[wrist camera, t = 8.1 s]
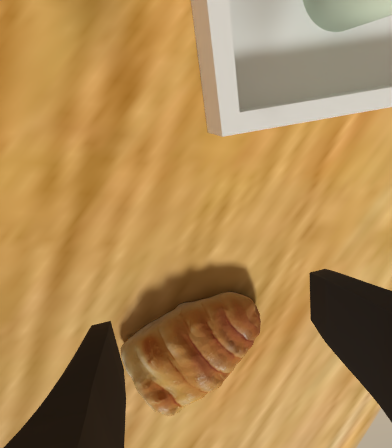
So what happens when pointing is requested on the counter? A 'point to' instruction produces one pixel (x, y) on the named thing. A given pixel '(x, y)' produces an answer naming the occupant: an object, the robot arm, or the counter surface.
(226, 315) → the pastry
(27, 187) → the counter surface
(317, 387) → the counter surface
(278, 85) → the bin
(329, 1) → the tin
